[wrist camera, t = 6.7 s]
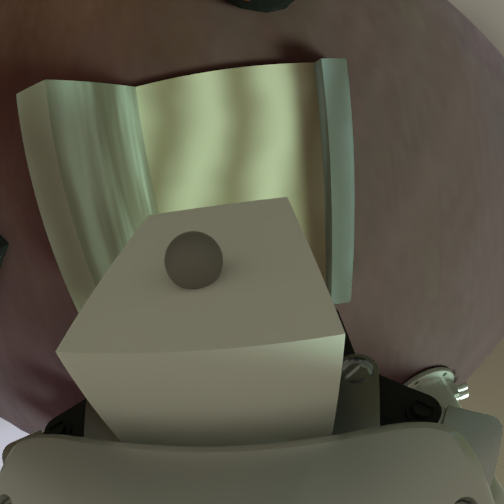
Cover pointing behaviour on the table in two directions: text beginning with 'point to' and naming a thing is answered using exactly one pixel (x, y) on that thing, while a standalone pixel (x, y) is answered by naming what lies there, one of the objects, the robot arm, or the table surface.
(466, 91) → the table surface
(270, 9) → the portable speaker
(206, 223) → the mini cabinet
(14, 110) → the table surface
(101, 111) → the curved railed panel
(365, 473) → the robot arm
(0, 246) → the disk drive
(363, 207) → the table surface
